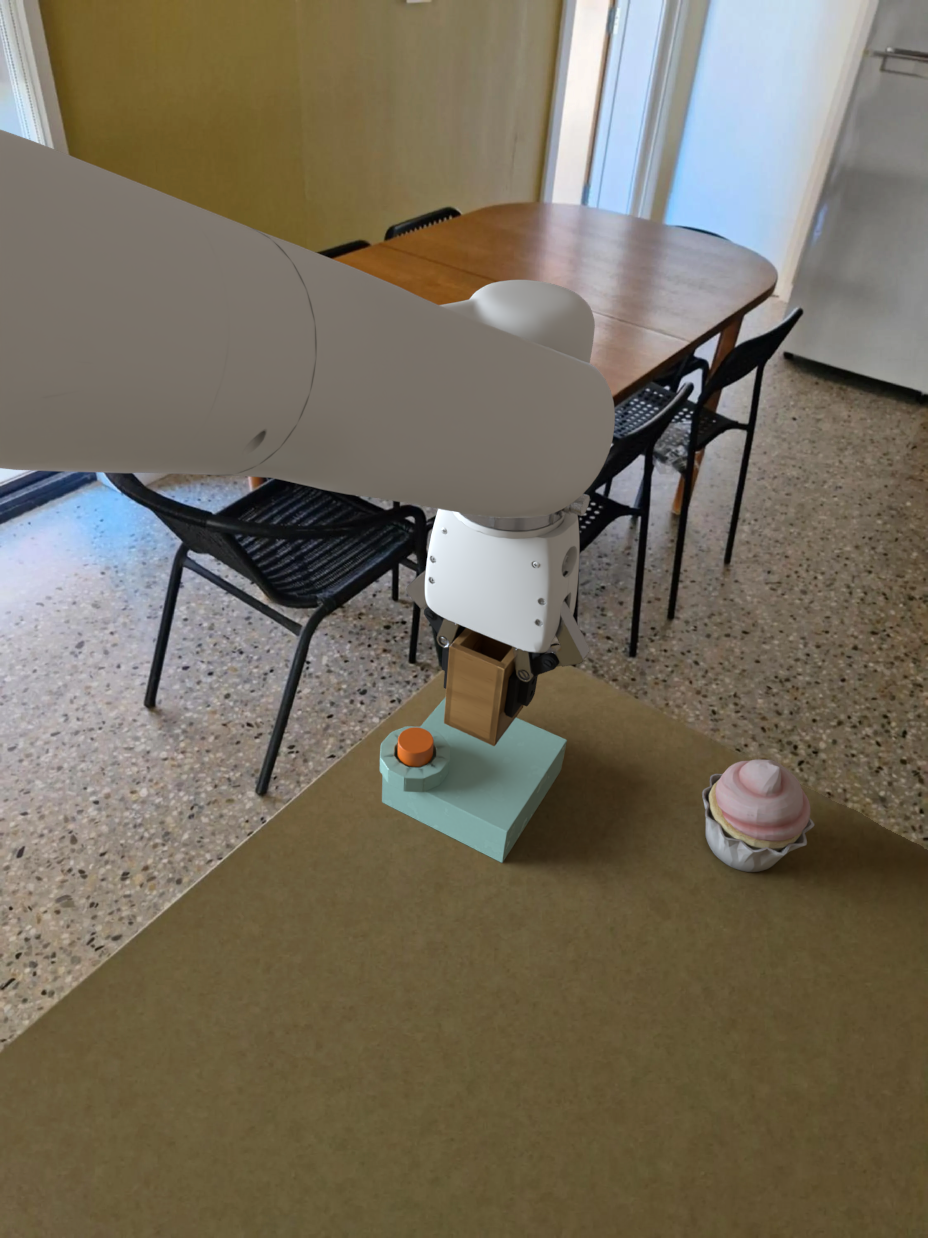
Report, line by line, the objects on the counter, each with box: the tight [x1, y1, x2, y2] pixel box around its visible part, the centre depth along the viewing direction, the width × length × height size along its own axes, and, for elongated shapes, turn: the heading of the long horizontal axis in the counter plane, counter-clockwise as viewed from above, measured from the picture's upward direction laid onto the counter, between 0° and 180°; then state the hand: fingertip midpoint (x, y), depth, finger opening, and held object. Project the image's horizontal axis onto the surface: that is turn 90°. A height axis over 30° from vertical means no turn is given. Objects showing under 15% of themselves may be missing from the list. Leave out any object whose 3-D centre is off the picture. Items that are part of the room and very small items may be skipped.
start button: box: [397, 726, 434, 767], centre depth 75 cm, size 3×3×2 cm
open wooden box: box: [444, 628, 525, 746], centre depth 67 cm, size 5×4×8 cm
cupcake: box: [701, 758, 815, 873], centre depth 74 cm, size 9×9×10 cm
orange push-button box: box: [379, 696, 568, 864], centre depth 78 cm, size 13×13×6 cm
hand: (486, 690), depth 68 cm, fingers closed on open wooden box, 4 cm apart
